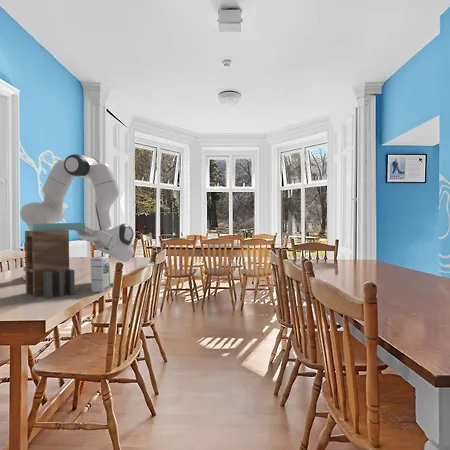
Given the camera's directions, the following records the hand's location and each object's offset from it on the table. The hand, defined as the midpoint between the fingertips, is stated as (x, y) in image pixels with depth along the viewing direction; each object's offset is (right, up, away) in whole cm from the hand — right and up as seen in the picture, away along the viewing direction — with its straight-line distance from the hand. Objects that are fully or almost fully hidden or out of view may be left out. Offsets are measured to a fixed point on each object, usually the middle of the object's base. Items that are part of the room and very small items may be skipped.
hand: (79, 227), depth 169 cm
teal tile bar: (-6, -1, -6) cm, 9 cm away
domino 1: (-5, -27, -19) cm, 34 cm away
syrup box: (+12, -27, -6) cm, 30 cm away
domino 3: (+1, -27, -13) cm, 30 cm away
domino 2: (-2, -27, -16) cm, 32 cm away
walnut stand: (-9, -27, -10) cm, 30 cm away
